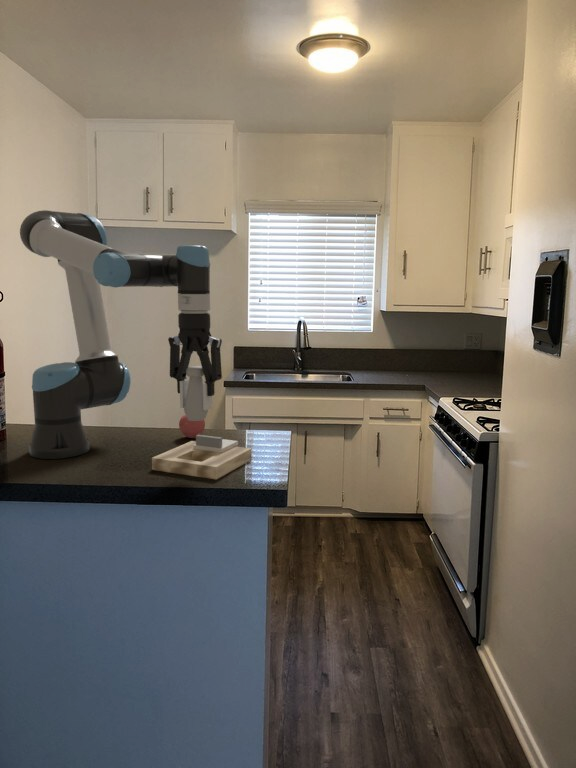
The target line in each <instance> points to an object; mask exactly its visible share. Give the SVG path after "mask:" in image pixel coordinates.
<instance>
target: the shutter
mask: <svg viewBox="0 0 576 768" xmlns="http://www.w3.org/2000/svg"><path fill="white" fill-rule="evenodd" d="M195 441H196V444H194V445H193V449H198V450H205V451H213V452H220V453H222V452H224V451H226V450H229V449H231V448H233V447H235V446H236V447H238V445H239V441H238V440H231V439H225V438H223V437H222V436H212V435H211V436H210V435H206V434H205V435H203V434H201V435H196V438H195Z"/></svg>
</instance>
